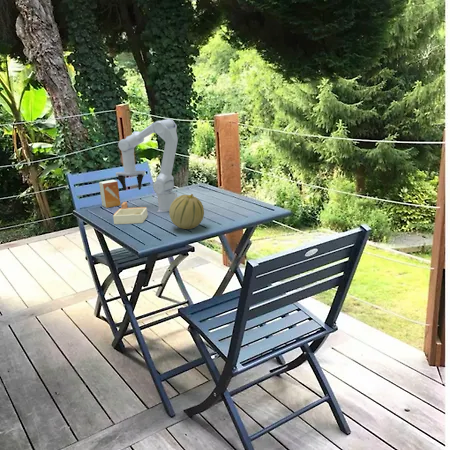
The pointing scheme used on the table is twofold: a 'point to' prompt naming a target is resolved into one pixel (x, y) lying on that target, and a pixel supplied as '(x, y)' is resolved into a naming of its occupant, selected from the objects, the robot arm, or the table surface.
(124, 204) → the lid
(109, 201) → the small box
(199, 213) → the cantaloupe
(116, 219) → the tub
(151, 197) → the table surface
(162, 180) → the robot arm
